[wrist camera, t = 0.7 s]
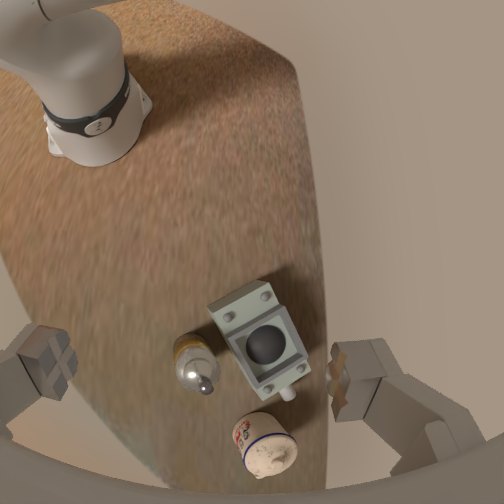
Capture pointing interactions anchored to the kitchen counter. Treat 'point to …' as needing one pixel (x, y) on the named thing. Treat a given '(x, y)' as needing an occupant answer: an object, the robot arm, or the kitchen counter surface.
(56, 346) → the robot arm
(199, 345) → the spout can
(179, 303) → the kitchen counter surface
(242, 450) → the teacup with lid
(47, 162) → the kitchen counter surface
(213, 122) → the kitchen counter surface
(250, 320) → the block
